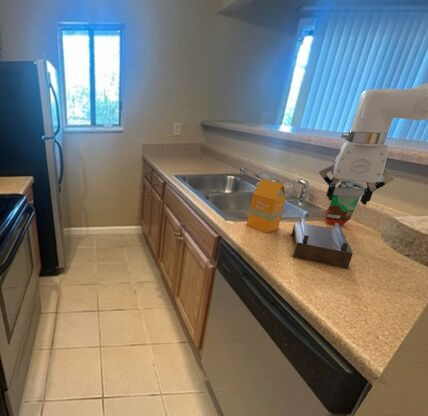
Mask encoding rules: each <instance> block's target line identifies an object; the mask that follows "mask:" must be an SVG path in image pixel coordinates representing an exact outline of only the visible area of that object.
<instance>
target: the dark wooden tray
mask: <svg viewBox="0 0 428 416" xmlns="http://www.w3.org/2000/svg"><path fill="white" fill-rule="evenodd" d="M291 237H294V239H295V247H294V249H293V254H292V257H293V258H296V259H300V260H305V261H310V262H314V263H318V264H324V265H328V266H332V267H336V268H341V269H346V270H348V268H349V266H350V264H351V261H352V258H353V255H354V253H353V250H352V248H351V246H350V244H349V242H348V239H347V237H346V235H345V233H344V231H343V229H342V227H341V226H340V225H339V223H335V224H334V225H333V227H327V226H321V225H315V224H309V223H307V220H306V218H305V217H300V221H299V222H298V221H294V222H293V227H292V231H291Z"/></svg>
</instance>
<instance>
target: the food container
mask: <svg viewBox="0 0 428 416" xmlns="http://www.w3.org/2000/svg"><path fill="white" fill-rule="evenodd" d="M339 183H340V184H338V185H337V186H335V190H334V193H333V197H332V200H330V204H329V206H330V207H329V206H328V207H329V210H328V214H327V217H326V218H325V220H326V219H329V220H335V221H347V222H349V221H350V220H351V218H352V216H353V214H354V211H355V209H356V207H357V205H358V202H360V199H361V197H362V196H363V195H364V194H365V188H366V187H365V185H364V184H362V183H361V182H358V181H347V180H340V182H339ZM348 220H349V221H348Z"/></svg>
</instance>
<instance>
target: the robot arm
mask: <svg viewBox="0 0 428 416" xmlns="http://www.w3.org/2000/svg"><path fill="white" fill-rule="evenodd" d="M394 119H403V120H411V121H412V120H413V121H424V120H428V82H426V83H423V84H420V85H417V86H414V87H412V88H402V89H401V88H400V89H399V88H372V89H371V88H370V89H367V90H365V91H363V92H362V93H361V94H360V97H359V100H358V103H357V107H356V110H355V112H354V117H353V120H352V123H351V127H350V130H349V131H348V132H346V133H342V134H341V136H340V137H341V139H343V140H346V141H345V142H343V143H342V145H341V147H340V148H339V150H338V153H337V155H336V157H335V160H334V163H333V164H331V165H329V166H327V167H325V168H323V169H321V170H319V171H318V174H319V175H320V176H321V178H322V179H323V180H324V182H325V183H326V184H327V185H328V187H327V190H326V193H325V196H326V197H327V199H328V201H331V200H332V197H333V193H334V190H335V187H337V185H338V183H340V182H341V180H347V181H353V182H357V183H365V185H366V187H364V188H365V194H364V195H363V196H360V199H359V202H360V203H361V204H362V205H364V206H366V205H367V203H368V202H370V201H371V199H372V196H373V194H374V192H376V191H377V190H379V189H380V188H382V187H384V186H386V185H387V184H389V183H391V182H392V181H394V180H395V178H394V176H393V175H392V174H390V173H389V172H388V171H386V169H385V166H386V163H387V158H388V153H389V144H385V143H386V140H387V138H388V134H389V132H390V129H391V127H392V123H393V120H394ZM328 173H331V175H332V176H333V177H332V178H330V177H329V176H328ZM382 177H383V178H382Z"/></svg>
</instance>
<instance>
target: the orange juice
mask: <svg viewBox="0 0 428 416" xmlns="http://www.w3.org/2000/svg"><path fill="white" fill-rule="evenodd" d="M284 185H285V184H284V183H281V182H276V181H272V180H269V179H263V178H260V180H259V182H258V184H257V186H256V187H255V189H254V191H253V192H252V197H251V202H250V207H249V212H248V217H247V222H246V225H247V226H248V227H250V228H254V229H256V230H258V231H261V232H263V233H266V234H268V233H271V232H273V231H276V230H279V227H280V222H281V218H282V215H283V210H284V206H285V202H286V198H287V196H286V191H285V186H284Z"/></svg>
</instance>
